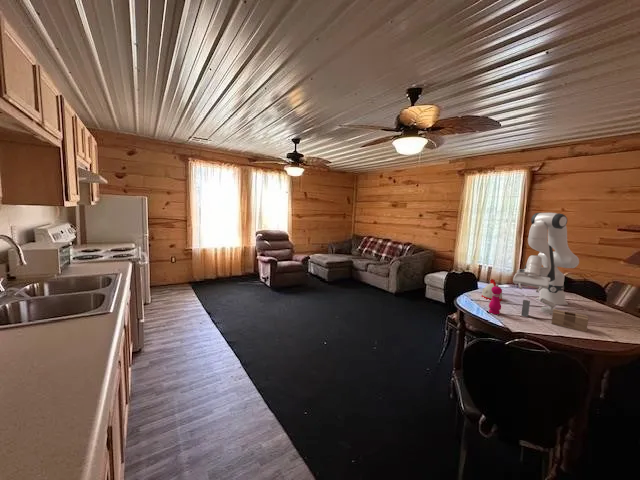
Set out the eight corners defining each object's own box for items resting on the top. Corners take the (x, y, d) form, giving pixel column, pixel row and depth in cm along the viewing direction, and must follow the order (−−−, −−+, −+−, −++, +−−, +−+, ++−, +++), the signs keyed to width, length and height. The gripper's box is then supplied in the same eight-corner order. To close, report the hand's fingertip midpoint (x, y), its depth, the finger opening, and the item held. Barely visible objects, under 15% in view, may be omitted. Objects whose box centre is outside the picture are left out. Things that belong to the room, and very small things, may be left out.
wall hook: (537, 296, 201) (553, 297, 199) (536, 309, 202) (552, 310, 200) (544, 300, 192) (561, 301, 190) (542, 313, 194) (559, 315, 192)
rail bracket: (522, 313, 192) (523, 299, 190) (528, 315, 189) (530, 300, 188) (521, 315, 189) (523, 301, 187) (527, 317, 186) (529, 302, 185)
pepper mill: (485, 311, 195) (488, 282, 193) (495, 310, 196) (498, 282, 193) (492, 315, 188) (495, 285, 186) (503, 315, 189) (506, 285, 186)
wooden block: (552, 320, 182) (553, 308, 181) (585, 327, 172) (587, 315, 171) (551, 323, 176) (552, 312, 175) (586, 331, 166) (588, 319, 165)
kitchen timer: (496, 295, 230) (498, 277, 228) (505, 301, 217) (507, 282, 215) (478, 294, 232) (480, 276, 230) (486, 300, 218) (488, 281, 216)
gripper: (550, 279, 197) (547, 296, 191) (515, 274, 210) (511, 289, 204) (551, 274, 193) (548, 291, 187) (515, 269, 206) (511, 284, 200)
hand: (528, 290), depth 196 cm, fingers open, 8 cm apart
